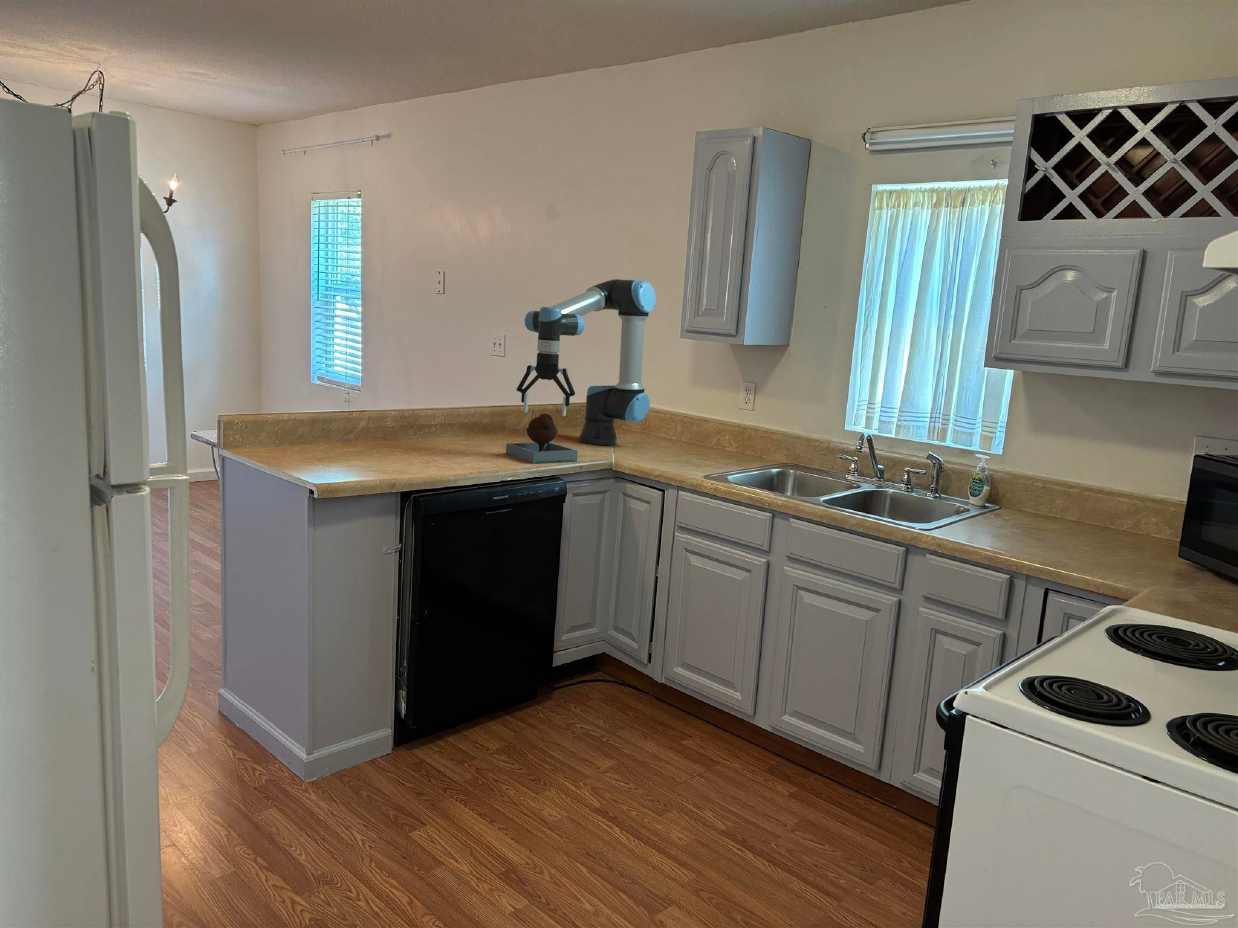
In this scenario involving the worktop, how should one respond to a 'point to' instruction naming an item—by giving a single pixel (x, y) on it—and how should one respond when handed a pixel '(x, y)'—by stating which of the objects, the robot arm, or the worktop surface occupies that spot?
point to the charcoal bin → (541, 453)
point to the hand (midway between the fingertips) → (544, 414)
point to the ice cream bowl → (542, 430)
